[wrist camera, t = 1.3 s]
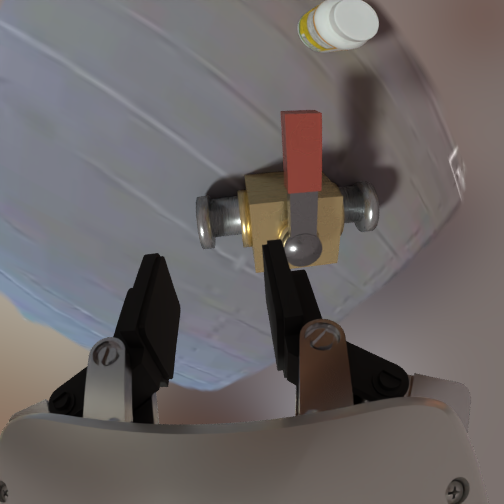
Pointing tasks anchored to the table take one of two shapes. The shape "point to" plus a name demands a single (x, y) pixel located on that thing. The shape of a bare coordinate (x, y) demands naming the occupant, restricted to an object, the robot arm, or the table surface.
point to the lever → (302, 183)
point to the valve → (284, 214)
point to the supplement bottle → (338, 25)
